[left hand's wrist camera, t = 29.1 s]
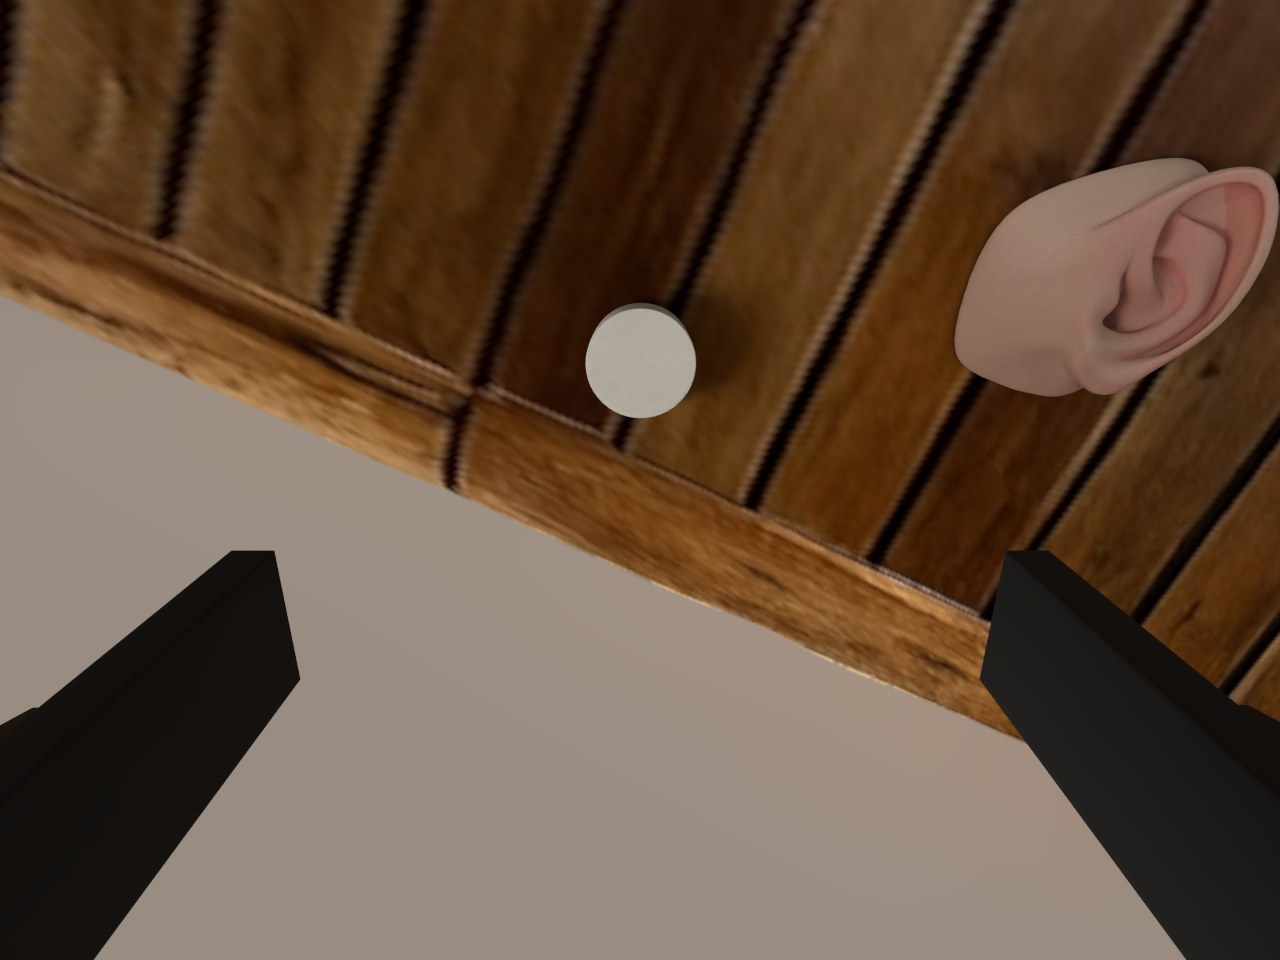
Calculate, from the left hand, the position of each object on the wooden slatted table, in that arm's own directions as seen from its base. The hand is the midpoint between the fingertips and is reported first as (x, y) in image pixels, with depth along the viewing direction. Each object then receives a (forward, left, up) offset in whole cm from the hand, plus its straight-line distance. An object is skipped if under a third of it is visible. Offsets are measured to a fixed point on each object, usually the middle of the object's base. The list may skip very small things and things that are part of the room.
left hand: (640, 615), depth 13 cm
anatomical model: (-12, +20, -27) cm, 35 cm away
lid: (0, 0, -25) cm, 25 cm away
